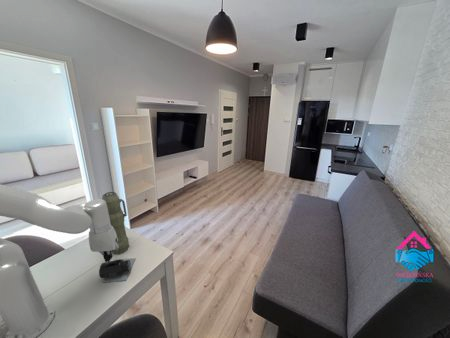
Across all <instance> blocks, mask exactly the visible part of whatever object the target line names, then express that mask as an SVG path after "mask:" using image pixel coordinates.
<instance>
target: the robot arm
mask: <svg viewBox="0 0 450 338" xmlns="http://www.w3.org/2000/svg"><path fill="white" fill-rule="evenodd" d="M0 217H4V218H8V219H9V218H11V219H16V220H19V221H22V222H24V223H27V224H29V225H30V224H31V225H34V226H37V227H40V228H43V229H46V230H49V231H53V232H58V233H63V234H68V235H69V234H70V235H71V234H72V235H78V234H82V233H84V232H87V230H89V231H88V244H89V250H90V252H93V253H95V252H96V253H97V252H98V253H100V255H101V256H102V257H103V259H104V262H109V261H111V259H113V253H112V251H113V250H117V249H118V248H119V246H118V238H117V234H116V232H115V230H114V228H113V226H111V222H110V218H109V213H108V209H107V204H106V202H105V200H103V199H102V198H98V199H97V198H96V199H93V200H90V201H87V202H84V203H78V204H73V205H69V206H67V207H64V208H63V207H60V206H58V205H56V204H54V203H52V202H51V201H50V200H48V199H46V198H45V197H43V196H42V195H38V194H36V193H32V192H29V191H25V190H22V189H18V188H16V187H12V186H8V185H4V184H1V183H0ZM55 316H56V312H55V308H54V307H53V306H51V305H46V302H45V301H44V299H43V296H42V293H41V291H40V289H39V287H38V284H37V282H36V280H35V278H34V275H33V273H32V271H31V269H30V266H29V263H28V261H27V259H26V256H25V253H24V251H23V248H22V247H21V246H20V245H18V244H17V243H15V242H13V241H10V240H7V239H5V238H2V237H0V317H1V318H2V321H3V322H4V324H5V325H6V326H5V327H7V329H8V330H7V332H6V333H5V338H38V337H39V336H40V335H41V334H42V333H43V332H44V331H46V330H47V329H48V327H49V326H50V325H51V324H52V322H53V321H54V319H55Z"/></svg>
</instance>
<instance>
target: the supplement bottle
mask: <svg viewBox="0 0 450 338" xmlns="http://www.w3.org/2000/svg"><path fill="white" fill-rule="evenodd" d="M119 259H120V260H117V259H115V260H110V261H109V262H108V261H107V262H105V261H104V262H102V263H101V264H100V265H99V271H98V276H99V278H100V279H105V278H108V277H113V276H117V275H121V274H123V272H124V271H125V272H126V271H129V270H130V268H131V262H130V260H126V261H124V260H123V259H124V258H122V259H121V258H119ZM131 269H132V268H131Z"/></svg>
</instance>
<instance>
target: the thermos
mask: <svg viewBox="0 0 450 338" xmlns="http://www.w3.org/2000/svg"><path fill="white" fill-rule="evenodd" d="M101 199H103V200H105V202H106V204H107V209H108V213H109V218H110V222H111V226H113V228H114V230H115V232H116V234H117V238H118V246H119V248H118V249H117V250H113V251H112V255H114V256H115V255H117V256H118V255H122V254H124V253H125V252H127V251H128V250H129V249H130V244H129V243H130V242H129V238H128V235H127V231H126V228H125V227H126V226H125V218H126V217H127V214H128V213H127V209H126V203H125V200H124V199H122V198H120V197H119V195H118V193H117V192H115V191H108V192H106V193H103V195H102V198H101ZM121 202H122V207H121ZM122 208H123V210H122ZM128 248H129V249H128Z"/></svg>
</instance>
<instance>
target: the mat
mask: <svg viewBox="0 0 450 338" xmlns="http://www.w3.org/2000/svg"><path fill="white" fill-rule="evenodd" d="M120 259H121V258H119V259H116V260H120ZM122 259H123V260H124V261H126V260H130V262H131V268H130V270H129V271H126V272H125V271H124V272H123V274H121V275H117V276H113V277H108V278H103V279H104V280H103V281H102V284H103V283H104V284H105V283H106V284H107V283H117V282H126V281H127V279H128V277H129V276H130V273H131V270H132V269H133V265H134V263H135V261H136V257H134V258H122Z"/></svg>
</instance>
